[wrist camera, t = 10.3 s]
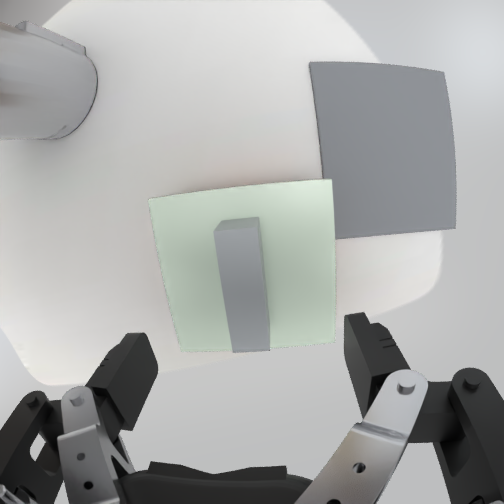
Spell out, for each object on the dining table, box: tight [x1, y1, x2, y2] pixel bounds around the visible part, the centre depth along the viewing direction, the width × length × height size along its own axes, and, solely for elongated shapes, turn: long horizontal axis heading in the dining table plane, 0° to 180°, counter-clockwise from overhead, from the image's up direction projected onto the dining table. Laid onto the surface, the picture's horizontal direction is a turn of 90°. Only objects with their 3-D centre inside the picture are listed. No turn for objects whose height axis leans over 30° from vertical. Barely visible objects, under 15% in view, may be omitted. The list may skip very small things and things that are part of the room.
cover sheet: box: [148, 178, 336, 353], centre depth 19 cm, size 12×12×4 cm
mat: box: [309, 62, 456, 239], centre depth 22 cm, size 15×13×1 cm
